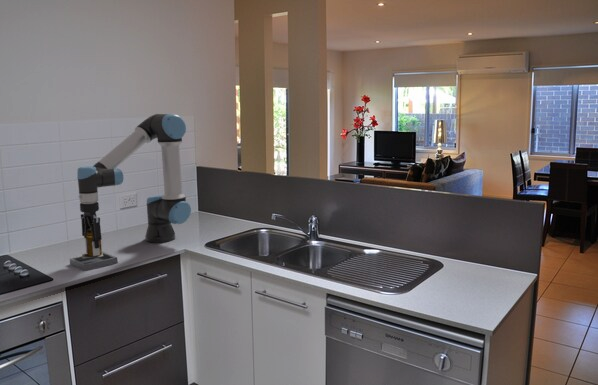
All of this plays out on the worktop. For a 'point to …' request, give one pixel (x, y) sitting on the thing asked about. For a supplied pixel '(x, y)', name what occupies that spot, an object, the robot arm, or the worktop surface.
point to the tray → (93, 261)
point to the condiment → (89, 246)
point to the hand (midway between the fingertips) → (93, 253)
